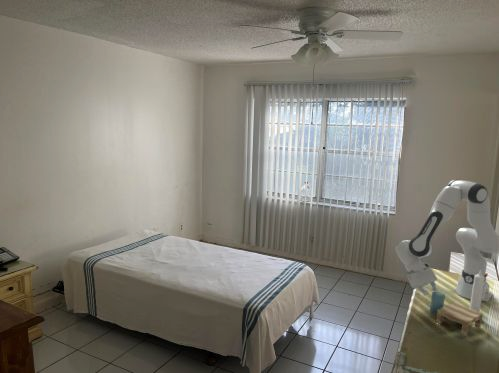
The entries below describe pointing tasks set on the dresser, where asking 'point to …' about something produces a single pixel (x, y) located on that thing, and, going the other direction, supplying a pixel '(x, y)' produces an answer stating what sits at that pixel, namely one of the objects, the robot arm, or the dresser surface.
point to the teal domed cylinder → (437, 302)
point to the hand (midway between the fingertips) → (431, 292)
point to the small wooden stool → (460, 316)
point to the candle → (477, 292)
